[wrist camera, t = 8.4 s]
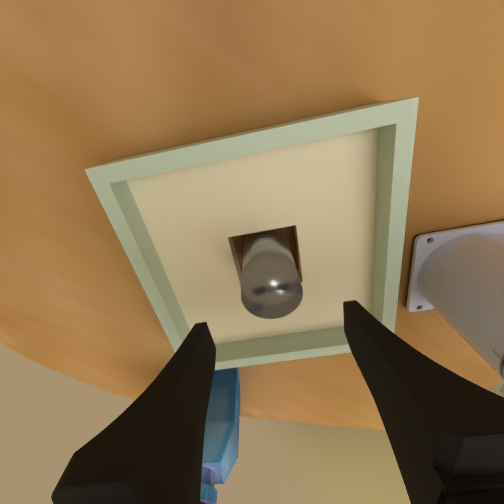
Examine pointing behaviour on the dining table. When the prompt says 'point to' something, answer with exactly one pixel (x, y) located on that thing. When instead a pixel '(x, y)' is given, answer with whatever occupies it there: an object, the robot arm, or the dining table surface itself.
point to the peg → (269, 275)
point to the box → (269, 226)
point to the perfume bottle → (220, 432)
